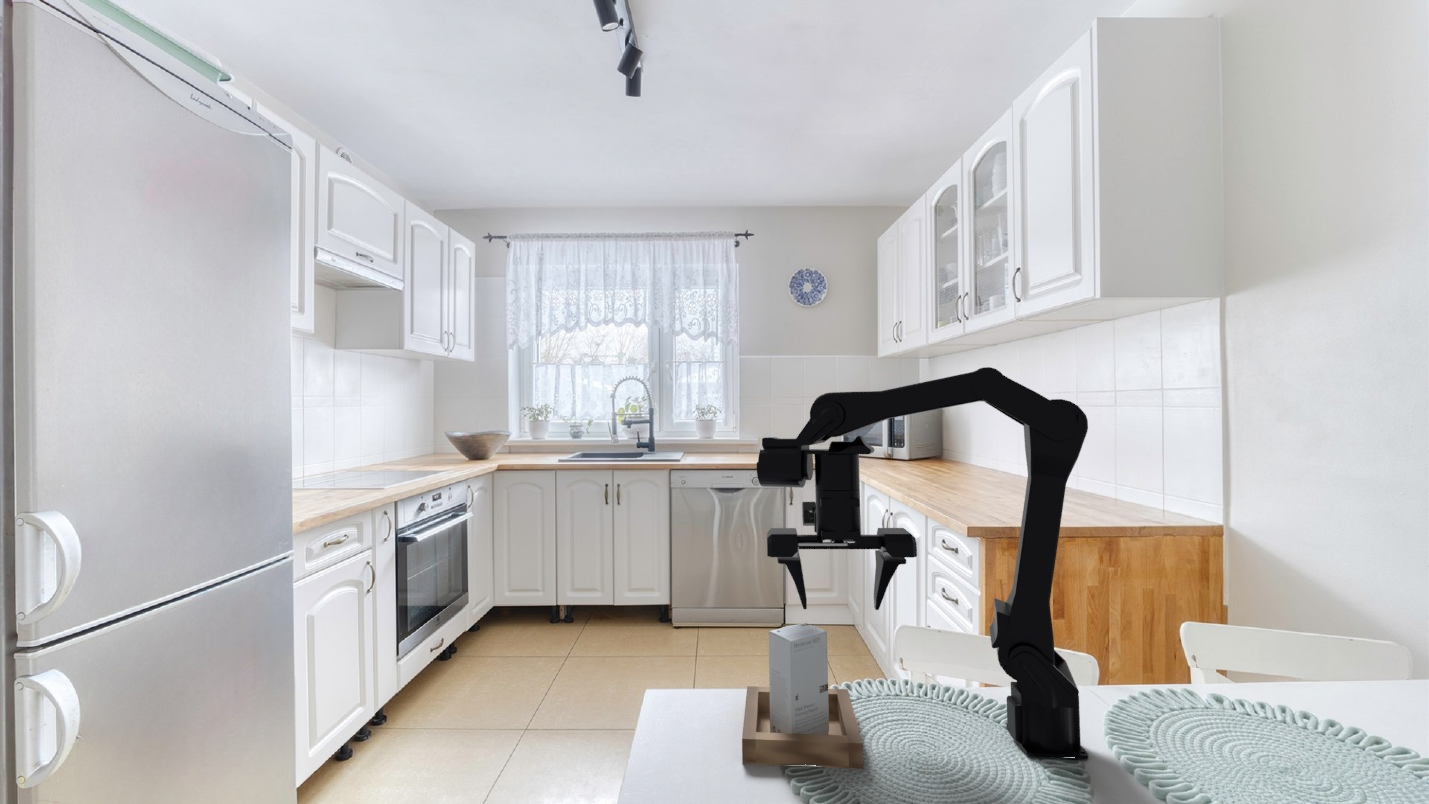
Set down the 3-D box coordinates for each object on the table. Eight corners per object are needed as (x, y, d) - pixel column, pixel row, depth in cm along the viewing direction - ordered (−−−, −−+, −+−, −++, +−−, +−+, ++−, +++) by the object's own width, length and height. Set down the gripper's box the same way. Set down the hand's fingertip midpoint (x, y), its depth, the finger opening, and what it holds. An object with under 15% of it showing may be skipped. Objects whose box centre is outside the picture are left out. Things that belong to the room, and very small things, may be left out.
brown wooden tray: (848, 715, 77) (847, 689, 77) (863, 774, 64) (862, 743, 64) (747, 711, 78) (747, 686, 78) (742, 769, 65) (742, 738, 65)
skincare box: (792, 750, 68) (791, 641, 68) (767, 733, 71) (766, 630, 72) (831, 733, 71) (829, 630, 71) (806, 718, 75) (804, 620, 75)
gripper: (896, 481, 85) (900, 591, 85) (766, 482, 87) (768, 590, 86) (916, 490, 74) (919, 617, 74) (766, 492, 76) (768, 615, 75)
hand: (840, 608), depth 78 cm, fingers open, 9 cm apart
